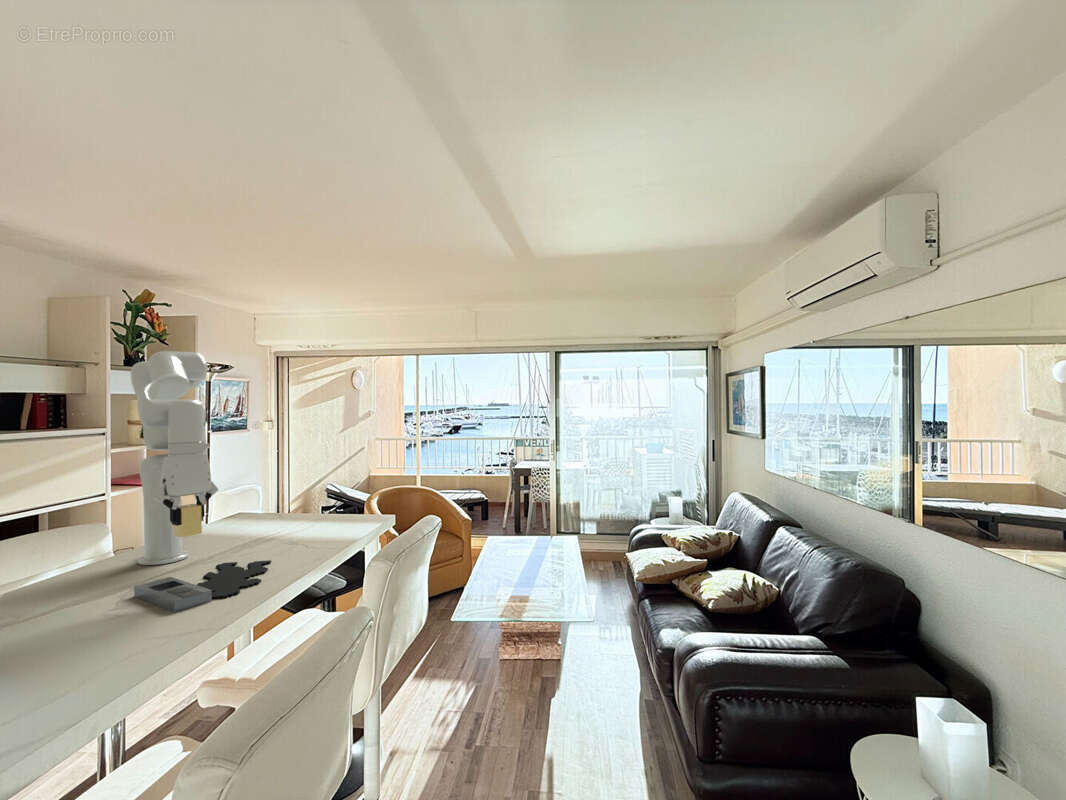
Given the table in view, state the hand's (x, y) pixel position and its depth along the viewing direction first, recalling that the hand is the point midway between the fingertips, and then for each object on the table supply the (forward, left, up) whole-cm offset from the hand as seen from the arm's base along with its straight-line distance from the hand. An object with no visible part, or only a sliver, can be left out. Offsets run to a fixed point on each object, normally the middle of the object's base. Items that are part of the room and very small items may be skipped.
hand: (187, 521), depth 135 cm
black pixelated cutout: (+1, +10, -18) cm, 20 cm away
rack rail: (+2, -5, -17) cm, 18 cm away
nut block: (0, 0, -3) cm, 3 cm away
